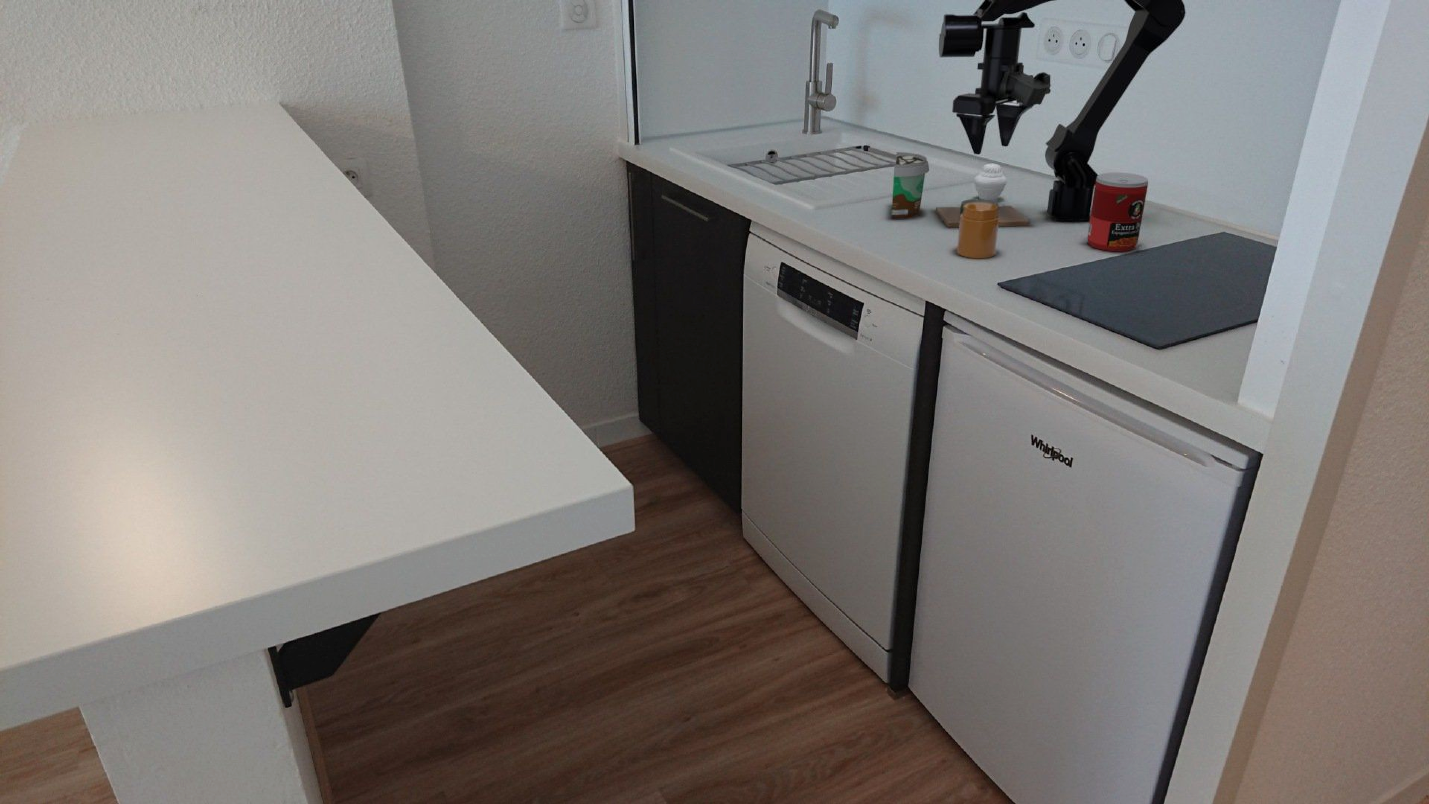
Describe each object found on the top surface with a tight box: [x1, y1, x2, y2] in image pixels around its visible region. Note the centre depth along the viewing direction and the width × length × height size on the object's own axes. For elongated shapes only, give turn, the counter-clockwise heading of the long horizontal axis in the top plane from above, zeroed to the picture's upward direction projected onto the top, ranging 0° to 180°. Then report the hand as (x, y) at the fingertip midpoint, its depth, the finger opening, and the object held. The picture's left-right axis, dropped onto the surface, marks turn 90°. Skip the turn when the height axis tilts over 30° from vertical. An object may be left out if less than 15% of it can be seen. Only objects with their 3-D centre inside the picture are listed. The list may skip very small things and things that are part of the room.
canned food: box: [1086, 172, 1149, 252], centre depth 153 cm, size 8×8×11 cm
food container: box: [890, 151, 930, 220], centre depth 175 cm, size 12×6×10 cm, turn 168°
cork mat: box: [935, 205, 1029, 228], centre depth 172 cm, size 14×11×1 cm
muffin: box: [973, 162, 1008, 202], centre depth 183 cm, size 6×6×7 cm
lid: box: [959, 198, 999, 214], centre depth 172 cm, size 6×6×2 cm
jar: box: [956, 202, 999, 259], centre depth 152 cm, size 6×6×8 cm
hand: (991, 150), depth 168 cm, fingers open, 9 cm apart
